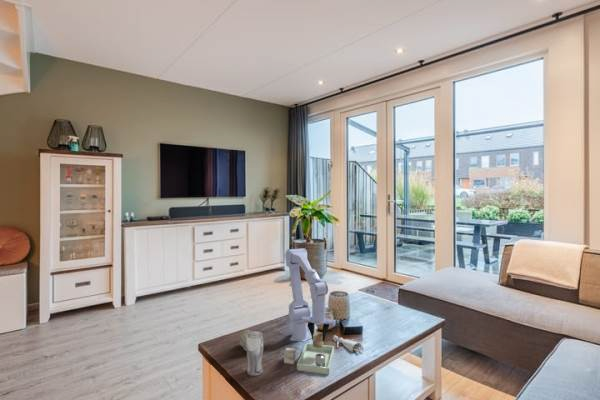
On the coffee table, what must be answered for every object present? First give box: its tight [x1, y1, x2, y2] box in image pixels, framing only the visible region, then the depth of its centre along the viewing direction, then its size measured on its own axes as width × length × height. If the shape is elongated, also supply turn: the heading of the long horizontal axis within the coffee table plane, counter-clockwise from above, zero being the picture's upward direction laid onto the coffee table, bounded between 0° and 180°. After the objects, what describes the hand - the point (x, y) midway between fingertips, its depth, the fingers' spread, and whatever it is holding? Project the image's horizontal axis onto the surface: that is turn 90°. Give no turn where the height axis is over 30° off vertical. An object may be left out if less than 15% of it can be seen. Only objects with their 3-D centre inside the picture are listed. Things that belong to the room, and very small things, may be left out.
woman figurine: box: [332, 334, 364, 353], centre depth 146 cm, size 12×4×18 cm
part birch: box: [283, 347, 297, 365], centre depth 133 cm, size 4×4×5 cm
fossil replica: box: [239, 329, 254, 352], centre depth 144 cm, size 12×8×10 cm
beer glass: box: [245, 330, 264, 377], centre depth 126 cm, size 7×7×15 cm
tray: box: [296, 342, 335, 376], centre depth 133 cm, size 18×13×3 cm
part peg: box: [315, 354, 325, 367], centre depth 127 cm, size 4×4×5 cm
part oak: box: [312, 331, 324, 348], centre depth 137 cm, size 4×4×5 cm
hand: (318, 339), depth 137 cm, fingers closed on part oak, 4 cm apart
